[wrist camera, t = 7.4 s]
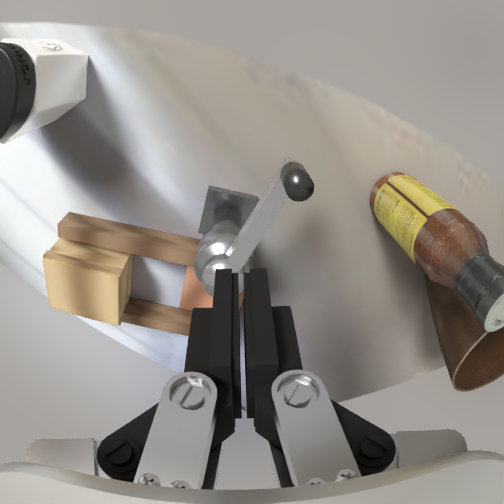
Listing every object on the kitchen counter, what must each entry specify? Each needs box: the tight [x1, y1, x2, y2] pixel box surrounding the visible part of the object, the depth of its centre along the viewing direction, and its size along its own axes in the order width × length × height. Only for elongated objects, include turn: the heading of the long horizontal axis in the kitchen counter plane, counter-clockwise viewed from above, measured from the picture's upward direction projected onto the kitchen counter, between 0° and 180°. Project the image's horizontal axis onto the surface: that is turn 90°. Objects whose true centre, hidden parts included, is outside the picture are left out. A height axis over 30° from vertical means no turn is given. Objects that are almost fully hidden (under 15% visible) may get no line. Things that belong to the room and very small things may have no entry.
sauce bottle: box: [370, 172, 504, 332], centre depth 24 cm, size 6×6×20 cm
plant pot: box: [426, 261, 504, 392], centre depth 32 cm, size 15×15×16 cm
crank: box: [202, 156, 314, 297], centre depth 21 cm, size 12×3×4 cm, turn 150°
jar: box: [0, 38, 88, 144], centre depth 19 cm, size 9×8×12 cm
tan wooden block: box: [43, 237, 133, 326], centre depth 33 cm, size 9×7×6 cm
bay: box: [58, 212, 244, 336], centre depth 35 cm, size 22×12×4 cm, turn 75°
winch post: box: [194, 186, 258, 283], centre depth 29 cm, size 5×5×10 cm
